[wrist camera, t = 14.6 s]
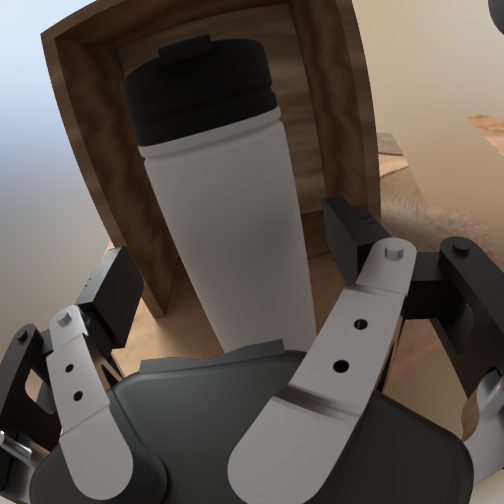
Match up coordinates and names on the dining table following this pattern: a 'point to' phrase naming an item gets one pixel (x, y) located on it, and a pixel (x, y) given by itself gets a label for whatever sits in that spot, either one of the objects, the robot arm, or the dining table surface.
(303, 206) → the cubby
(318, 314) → the dining table surface
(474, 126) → the dining table surface
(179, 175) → the travel mug
